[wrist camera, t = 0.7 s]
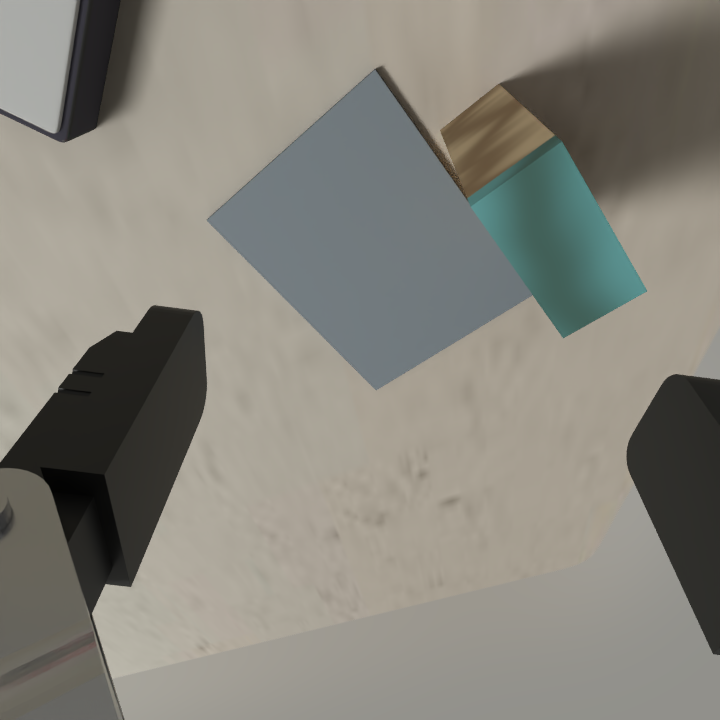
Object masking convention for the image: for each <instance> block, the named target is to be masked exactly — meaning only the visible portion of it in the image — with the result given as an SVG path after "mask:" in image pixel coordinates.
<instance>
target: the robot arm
mask: <svg viewBox="0 0 720 720" xmlns="http://www.w3.org/2000/svg"><path fill="white" fill-rule="evenodd" d="M206 391H207V377H206V360H205V343H204V326H203V318H202V314H201V312H199V311H195V310H187V309H179V308H172V307H164V306H156V305H154V306H152V307H150V309H149V310H148V311H147V313H146V314H145V316H144V317H143V319H142V320H141V321H140V323H139V324H138V326H137V327H136V329H135V330H134V332H133V333H130V332H122V331H116V332H114V333H112V334H111V335H109V336H108V337H106V338H104V339H103V340H101V341H99V342H98V343H96V344H95V345H93V346H91V347H90V348H89V349H88V350H87V352H86V353H85V354H84V355H83V357H82V358H81V359H80V361H79V362H78V363H77V364H76V366H75V367H74V368H73V372H72V374H69V375H68V376H67V377H66V379H65V380H64V381H63V382H62V384H61V385H60V386H59V388H58V393H54V394H53V395H52V397H51V398H50V399H49V401H48V402H47V403H46V404H45V406H44V407H43V408H42V410H41V411H40V412H39V413H38V415H37V416H36V417H35V419H34V420H33V421H32V422H31V424H30V425H29V426H28V428H27V429H26V430H25V431H24V433H23V434H22V435H21V437H20V438H19V439H18V440H17V442H16V443H15V444H14V446H13V447H12V448H11V449H10V451H9V452H8V453H7V455H6V456H5V457H4V459H3V460H2V461H1V462H0V720H125V719H124V716H123V713H122V710H121V706H120V704H119V700H118V697H117V693H116V690H115V687H114V684H113V680H112V677H111V674H110V671H109V667H108V664H107V661H106V658H105V654H104V651H103V648H102V644H101V641H100V638H99V635H98V631H97V628H96V625H95V622H94V618H93V615H92V612H93V610H94V607H95V605H96V603H97V601H98V599H99V597H100V594H101V592H102V590H103V588H104V586H105V584H110V585H119V586H128V587H131V586H132V583H133V581H134V578H135V576H136V574H137V571H138V569H139V566H140V564H141V562H142V559H143V557H144V554H145V552H146V549H147V547H148V545H149V542H150V540H151V537H152V535H153V533H154V530H155V528H156V525H157V523H158V521H159V518H160V516H161V513H162V511H163V508H164V506H165V504H166V501H167V499H168V496H169V494H170V492H171V489H172V487H173V484H174V482H175V480H176V477H177V475H178V472H179V470H180V467H181V465H182V463H183V460H184V458H185V455H186V453H187V451H188V448H189V446H190V443H191V441H192V439H193V436H194V434H195V431H196V429H197V427H198V424H199V422H200V419H201V417H202V413H203V410H204V405H205V400H206ZM627 466H628V470H629V472H630V475H631V477H632V479H633V481H634V484H635V486H636V488H637V490H638V492H639V494H640V497H641V499H642V501H643V503H644V505H645V507H646V510H647V512H648V514H649V516H650V518H651V520H652V523H653V525H654V527H655V529H656V531H657V533H658V536H659V538H660V540H661V542H662V544H663V546H664V549H665V551H666V553H667V555H668V557H669V559H670V562H671V564H672V566H673V568H674V570H675V572H676V575H677V577H678V579H679V581H680V583H681V585H682V588H683V590H684V592H685V594H686V596H687V598H688V601H689V603H690V605H691V607H692V609H693V611H694V614H695V616H696V618H697V620H698V622H699V624H700V626H701V629H702V631H703V633H704V635H705V637H706V640H707V641H708V644H709V646H710V648H711V650H712V653H713V654H717V655H720V380H717V379H710V378H702V377H694V376H686V375H678V374H675V375H672V376H669V377H668V378H667V379H666V380H665V381H664V382H663V384H662V385H661V387H660V388H659V390H658V392H657V393H656V395H655V397H654V398H653V400H652V402H651V404H650V405H649V407H648V409H647V410H646V412H645V414H644V415H643V417H642V419H641V420H640V422H639V424H638V425H637V427H636V429H635V431H634V432H633V434H632V436H631V438H630V440H629V443H628V447H627Z"/></svg>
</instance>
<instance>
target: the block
mask: <svg viewBox="0 0 720 720" xmlns="http://www.w3.org/2000/svg"><path fill="white" fill-rule="evenodd" d="M440 131H441V134H442V136H443V139H444V142H445V144H446V147H447V149H448V152H449V154H450V157H451V159H452V162H453V164H454V167H455V169H456V172H457V174H458V177H459V179H460V182H461V184H462V187H463V189H464V192H465V194H466V197H467V199H468V202H469V204H470V207H471V208H472V210H473V211H474V212H475V214H476V215H477V217H478V218H479V220H480V221H481V222H482V224H483V225H484V227H485V228H486V229H487V231H488V232H489V234H490V235H491V237H492V238H493V239H494V241H495V242H496V244H497V245H498V247H499V248H500V249H501V251H502V252H503V254H504V255H505V256H506V258H507V259H508V261H509V262H510V264H511V265H512V266H513V268H514V269H515V271H516V272H517V273H518V275H519V276H520V278H521V279H522V281H523V282H524V283H525V285H526V286H527V288H528V289H529V290H530V292H531V293H532V295H533V296H534V298H535V299H536V300H537V302H538V303H539V305H540V306H541V307H542V309H543V310H544V312H545V313H546V315H547V316H548V317H549V319H550V320H551V322H552V323H553V324H554V326H555V327H556V329H557V330H558V332H559V333H560V334H561V336H562V337H563V338H565V337H566V336H568V335H570V334H572V333H573V332H575V331H577V330H579V329H581V328H582V327H584V326H586V325H588V324H590V323H591V322H593V321H595V320H597V319H598V318H600V317H602V316H604V315H606V314H607V313H609V312H611V311H613V310H614V309H616V308H618V307H620V306H622V305H623V304H625V303H627V302H629V301H631V300H632V299H634V298H636V297H638V296H639V295H641V294H643V293H645V292H647V290H646V288H645V286H644V285H643V283H642V281H641V279H640V278H639V276H638V274H637V272H636V270H635V269H634V267H633V265H632V263H631V262H630V260H629V258H628V256H627V255H626V253H625V251H624V249H623V248H622V246H621V244H620V242H619V241H618V239H617V237H616V235H615V234H614V232H613V230H612V228H611V227H610V225H609V223H608V221H607V220H606V218H605V216H604V214H603V213H602V211H601V209H600V207H599V206H598V204H597V202H596V200H595V199H594V197H593V195H592V193H591V191H590V190H589V188H588V186H587V184H586V183H585V181H584V179H583V177H582V176H581V174H580V172H579V170H578V169H577V167H576V165H575V163H574V162H573V160H572V158H571V156H570V155H569V153H568V151H567V149H566V148H565V146H564V144H563V142H562V141H561V140H560V139H559V138H558V137H557V136H555V135H554V134H553V133H552V132H551V131H550V130H549V129H548V128H547V127H546V126H544V125H543V124H542V123H541V122H540V121H539V120H538V119H537V118H536V117H535V116H533V115H532V114H531V113H530V112H529V111H528V110H527V109H526V108H525V107H524V106H523V105H521V104H520V103H519V102H518V101H517V100H516V99H515V98H514V97H513V96H512V95H510V94H509V93H508V92H507V91H506V90H505V89H504V88H503V87H502V86H501V85H500V84H498V85H496V86H495V87H494V88H493V89H491V90H490V91H489V92H488V93H486V94H485V95H484V96H483V97H481V98H480V99H479V100H478V101H476V102H475V103H474V104H473V105H471V106H470V107H469V108H468V109H466V110H465V111H464V112H463V113H461V114H460V115H459V116H458V117H456V118H455V119H454V120H452V121H451V122H450V123H449V124H447V125H446V126H445V127H444V128H442V129H441V130H440Z"/></svg>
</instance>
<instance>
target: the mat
mask: <svg viewBox="0 0 720 720" xmlns="http://www.w3.org/2000/svg"><path fill="white" fill-rule="evenodd" d="M207 221H208V222H209V223H210V224H211V225H212V226H213V227H214V228H215V229H216V230H217V231H218V232H219V233H220V234H221V235H222V236H223V237H224V238H225V239H226V240H227V241H228V242H229V243H230V244H231V245H232V246H233V247H234V248H235V249H236V250H237V251H238V252H239V253H240V254H241V255H242V256H243V257H244V258H245V259H246V260H247V261H248V262H249V263H250V264H251V265H252V266H253V267H254V268H255V269H256V270H257V271H258V272H259V273H260V274H261V275H262V276H263V277H264V278H265V279H266V280H267V281H268V282H269V283H270V284H271V285H272V286H273V287H274V288H275V289H276V290H277V291H278V292H279V293H280V294H281V295H282V296H283V297H284V298H285V299H286V300H287V301H288V302H289V303H290V304H291V305H292V306H293V307H294V308H295V309H296V310H297V311H298V312H299V313H300V314H301V315H302V316H303V317H304V318H305V319H306V320H307V321H308V322H309V323H310V324H311V325H312V326H313V327H314V328H315V329H316V330H317V331H318V332H319V333H320V334H321V335H322V337H323V338H324V339H325V340H326V341H327V342H328V343H329V344H330V345H331V346H332V347H333V348H334V349H335V350H336V351H337V352H338V353H339V354H340V355H341V356H342V357H343V358H344V359H345V360H346V361H347V362H348V363H349V364H350V365H351V366H352V367H353V368H354V369H355V370H356V371H357V372H358V373H359V374H360V375H361V376H362V377H363V378H364V379H365V380H366V381H367V382H368V383H369V384H370V385H371V386H372V387H373V388H374V389H375V390H377V389H379V388H381V387H382V386H384V385H386V384H387V383H389V382H391V381H392V380H394V379H396V378H397V377H399V376H400V375H402V374H404V373H405V372H407V371H409V370H410V369H412V368H414V367H415V366H417V365H419V364H420V363H422V362H423V361H425V360H427V359H428V358H430V357H432V356H433V355H435V354H437V353H438V352H440V351H442V350H443V349H445V348H446V347H448V346H450V345H451V344H453V343H455V342H456V341H458V340H460V339H461V338H463V337H465V336H466V335H468V334H469V333H471V332H473V331H474V330H476V329H478V328H479V327H481V326H483V325H484V324H486V323H488V322H489V321H491V320H492V319H494V318H496V317H497V316H499V315H501V314H502V313H504V312H506V311H507V310H509V309H511V308H512V307H514V306H515V305H517V304H519V303H520V302H522V301H524V300H525V299H527V298H529V297H530V296H532V293H531V292H530V290H529V289H528V288H527V286H526V285H525V283H524V282H523V281H522V279H521V278H520V276H519V275H518V273H517V272H516V271H515V269H514V268H513V266H512V265H511V264H510V262H509V261H508V259H507V258H506V256H505V255H504V254H503V252H502V251H501V249H500V248H499V247H498V245H497V244H496V242H495V241H494V239H493V238H492V237H491V235H490V234H489V232H488V231H487V229H486V228H485V227H484V225H483V224H482V222H481V221H480V220H479V218H478V217H477V215H476V214H475V212H474V211H473V210H472V208H471V207H470V204H469V202H468V200H467V199H466V197H465V196H464V194H463V193H462V192H461V190H460V189H459V187H458V186H457V184H456V183H455V182H454V180H453V179H452V177H451V176H450V174H449V173H448V172H447V170H446V169H445V167H444V166H443V165H442V163H441V162H440V160H439V159H438V157H437V156H436V155H435V153H434V152H433V150H432V149H431V147H430V146H429V145H428V143H427V142H426V140H425V139H424V138H423V136H422V135H421V133H420V132H419V130H418V129H417V128H416V126H415V125H414V123H413V122H412V120H411V119H410V118H409V116H408V115H407V113H406V112H405V111H404V109H403V108H402V106H401V105H400V103H399V102H398V101H397V99H396V98H395V96H394V95H393V93H392V92H391V91H390V89H389V88H388V86H387V85H386V84H385V82H384V81H383V79H382V78H381V76H380V75H379V74H378V72H377V71H376V69H374V70H373V71H372V72H371V73H370V74H369V75H368V76H367V77H365V78H364V79H363V80H362V81H361V82H360V83H359V84H358V85H356V86H355V87H354V88H353V89H352V90H351V91H350V92H349V93H348V94H346V95H345V96H344V97H343V98H342V99H341V100H340V101H339V102H338V103H336V104H335V105H334V106H333V107H332V108H331V109H330V110H329V111H327V112H326V113H325V114H324V115H323V116H322V117H321V118H320V119H319V120H317V121H316V122H315V123H314V124H313V125H312V126H311V127H310V128H309V129H307V130H306V131H305V132H304V133H303V134H302V135H301V136H300V137H298V138H297V139H296V140H295V141H294V142H293V143H292V144H291V145H290V146H288V147H287V148H286V149H285V150H284V151H283V152H282V153H281V154H280V155H278V156H277V157H276V158H275V159H274V160H273V161H272V162H271V163H269V164H268V165H267V166H266V167H265V168H264V169H263V170H262V171H261V172H259V173H258V174H257V175H256V176H255V177H254V178H253V179H252V180H251V181H249V182H248V183H247V184H246V185H245V186H244V187H243V188H242V189H240V190H239V191H238V192H237V193H236V194H235V195H234V196H233V197H232V198H230V199H229V200H228V201H227V202H226V203H225V204H224V205H223V206H221V207H220V208H219V209H218V210H217V211H216V212H215V213H214V214H213V215H211V216H210V217H209V218H208V220H207Z"/></svg>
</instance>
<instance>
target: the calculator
mask: <svg viewBox="0 0 720 720" xmlns="http://www.w3.org/2000/svg"><path fill="white" fill-rule="evenodd" d="M119 6H120V0H0V114H2V115H5V116H7V117H9V118H11V119H13V120H15V121H17V122H19V123H21V124H23V125H26V126H28V127H30V128H32V129H34V130H36V131H38V132H40V133H42V134H44V135H46V136H49V137H51V138H53V139H55V140H57V141H59V142H67V141H69V140H72V139H74V138H76V137H79V136H81V135H83V134H85V133H88V132H90V131H92V130H94V129H95V128H96V125H97V120H98V115H99V110H100V105H101V100H102V94H103V89H104V84H105V79H106V74H107V68H108V63H109V58H110V53H111V47H112V42H113V37H114V32H115V26H116V21H117V16H118V11H119Z"/></svg>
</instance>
